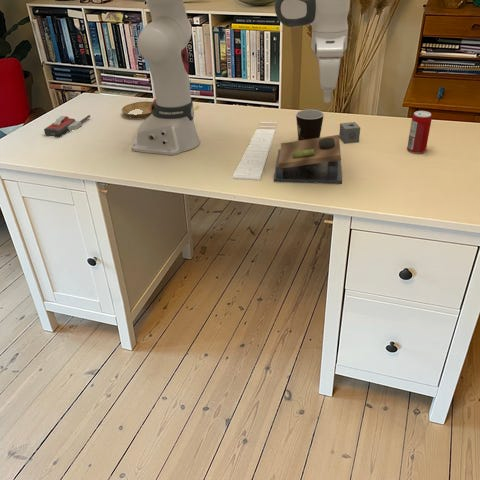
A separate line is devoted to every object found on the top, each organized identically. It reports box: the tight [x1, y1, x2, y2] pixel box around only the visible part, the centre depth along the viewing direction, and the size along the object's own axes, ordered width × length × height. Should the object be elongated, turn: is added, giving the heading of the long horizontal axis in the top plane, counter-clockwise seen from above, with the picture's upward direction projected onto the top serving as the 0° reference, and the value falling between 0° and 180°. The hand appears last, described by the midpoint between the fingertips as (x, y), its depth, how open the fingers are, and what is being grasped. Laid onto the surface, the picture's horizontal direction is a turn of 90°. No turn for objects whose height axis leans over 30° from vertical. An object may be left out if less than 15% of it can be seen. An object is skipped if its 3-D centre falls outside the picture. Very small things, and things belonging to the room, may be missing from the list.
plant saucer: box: [121, 101, 153, 119], centre depth 189 cm, size 15×15×3 cm
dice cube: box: [338, 121, 361, 144], centre depth 160 cm, size 5×5×5 cm
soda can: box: [406, 110, 433, 155], centre depth 149 cm, size 6×6×12 cm
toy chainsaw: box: [43, 114, 91, 138], centre depth 179 cm, size 9×4×20 cm
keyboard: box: [232, 121, 278, 181], centre depth 159 cm, size 45×8×2 cm, turn 169°
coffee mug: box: [295, 109, 325, 141], centre depth 158 cm, size 12×9×10 cm
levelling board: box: [278, 134, 342, 168], centre depth 140 cm, size 17×14×3 cm
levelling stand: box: [273, 148, 343, 185], centre depth 143 cm, size 19×15×4 cm
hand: (326, 96), depth 131 cm, fingers open, 8 cm apart
